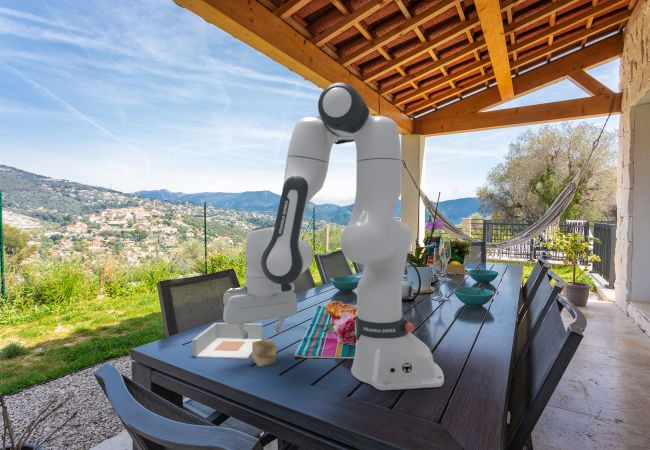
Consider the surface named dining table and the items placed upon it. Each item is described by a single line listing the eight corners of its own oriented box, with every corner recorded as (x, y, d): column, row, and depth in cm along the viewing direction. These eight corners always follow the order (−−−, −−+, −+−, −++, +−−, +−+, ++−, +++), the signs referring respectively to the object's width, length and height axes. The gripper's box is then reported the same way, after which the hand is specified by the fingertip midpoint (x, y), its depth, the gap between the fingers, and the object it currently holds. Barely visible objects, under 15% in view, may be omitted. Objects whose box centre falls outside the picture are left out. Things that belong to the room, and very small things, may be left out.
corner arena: (262, 338, 114) (262, 323, 114) (247, 358, 98) (247, 341, 98) (215, 337, 115) (214, 322, 115) (192, 357, 99) (192, 339, 99)
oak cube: (269, 356, 100) (269, 338, 100) (276, 362, 96) (276, 344, 95) (252, 360, 97) (252, 342, 97) (258, 366, 93) (258, 347, 93)
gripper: (226, 291, 88) (225, 346, 89) (300, 284, 98) (299, 333, 99) (220, 286, 94) (220, 337, 94) (290, 280, 104) (290, 326, 104)
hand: (261, 335), depth 97 cm, fingers open, 8 cm apart
